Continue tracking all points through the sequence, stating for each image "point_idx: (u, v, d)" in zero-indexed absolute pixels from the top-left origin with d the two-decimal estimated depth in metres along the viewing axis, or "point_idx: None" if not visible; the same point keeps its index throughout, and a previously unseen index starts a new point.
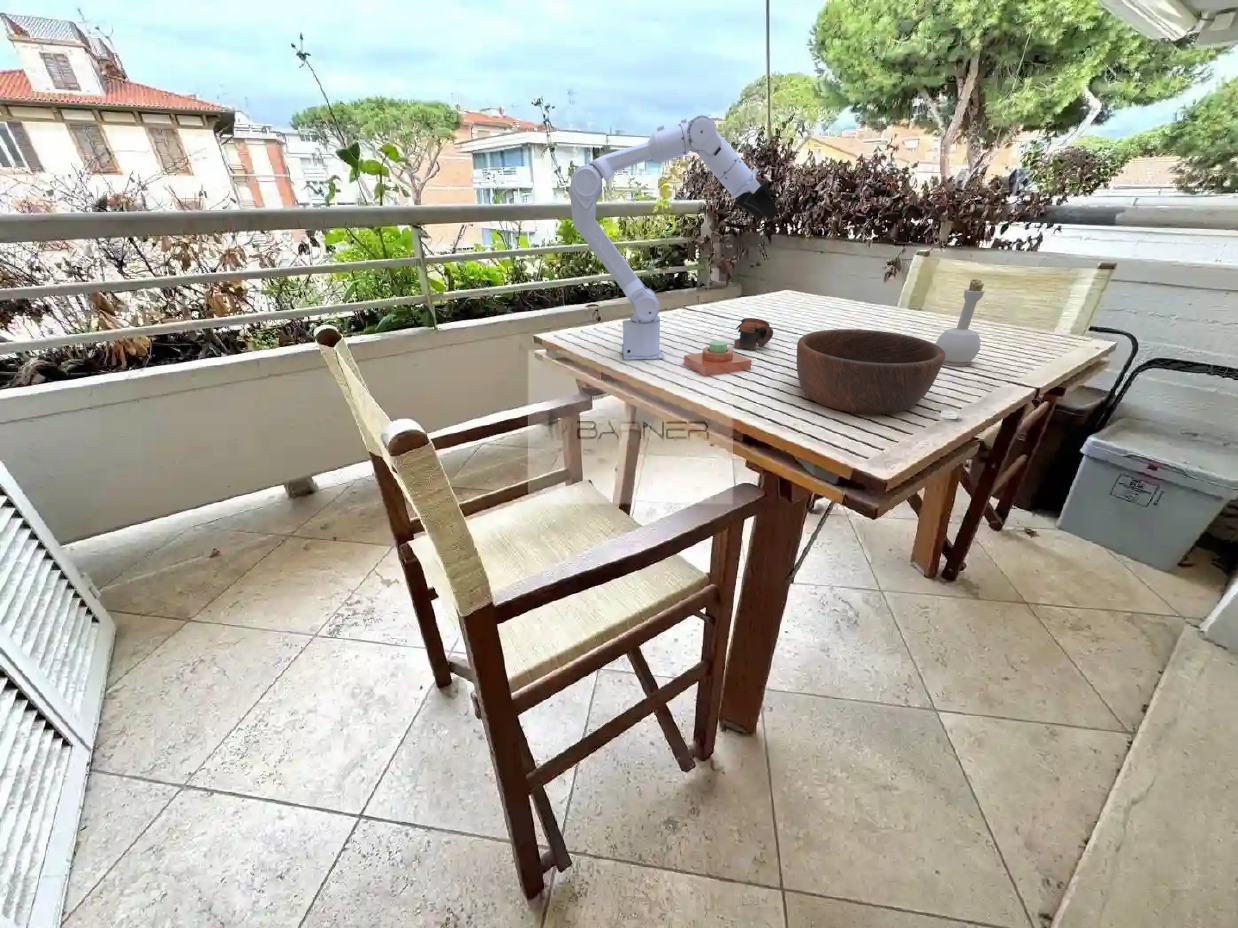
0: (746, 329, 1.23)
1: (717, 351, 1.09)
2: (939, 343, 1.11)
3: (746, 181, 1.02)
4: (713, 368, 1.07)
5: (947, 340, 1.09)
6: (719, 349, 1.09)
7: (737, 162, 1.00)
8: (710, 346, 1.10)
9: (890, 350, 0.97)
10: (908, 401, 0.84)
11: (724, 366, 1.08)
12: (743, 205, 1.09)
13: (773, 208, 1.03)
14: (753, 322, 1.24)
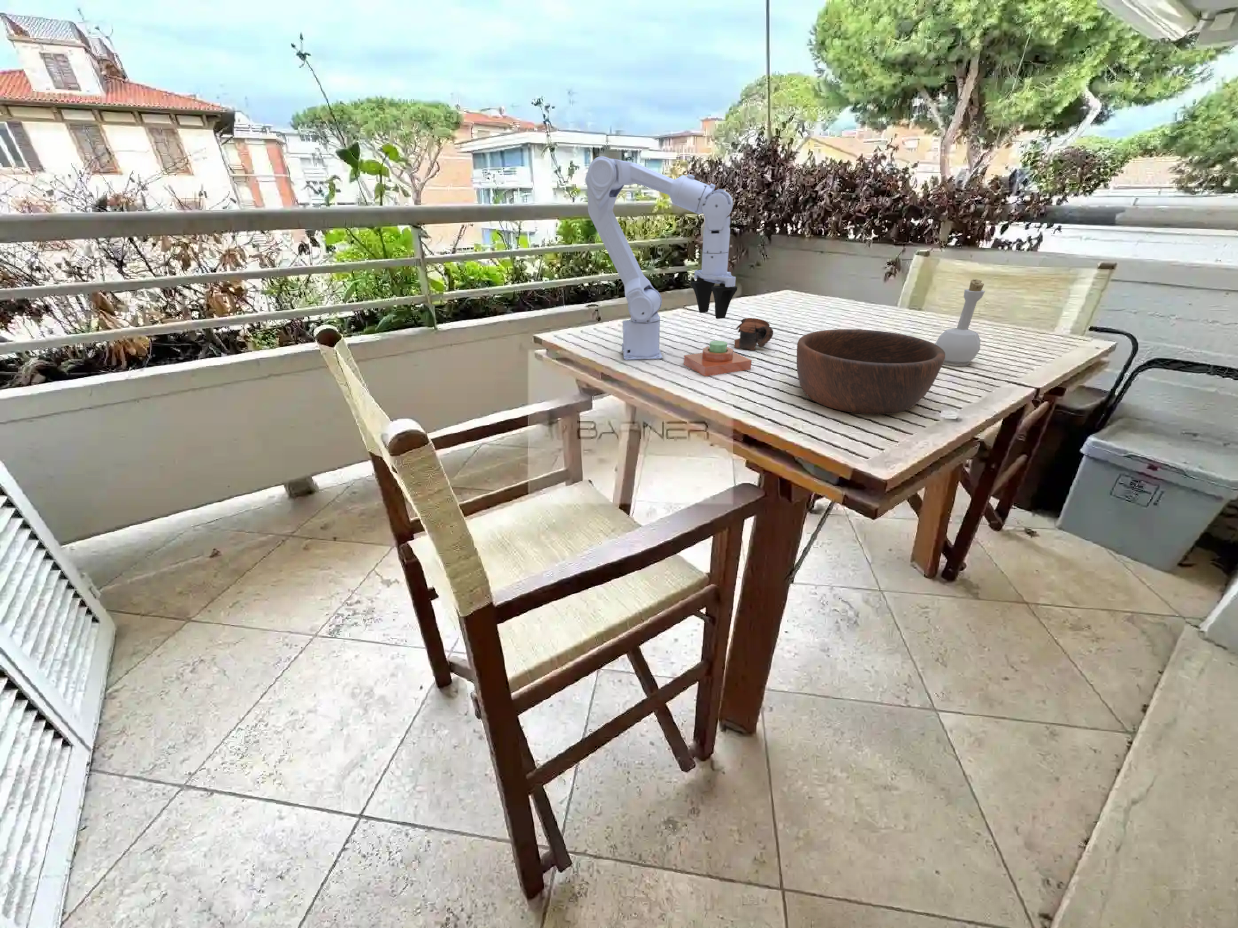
0: (746, 329, 1.23)
1: (717, 351, 1.09)
2: (939, 343, 1.11)
3: (722, 274, 1.06)
4: (713, 368, 1.07)
5: (947, 340, 1.09)
6: (719, 349, 1.09)
7: (727, 254, 1.05)
8: (710, 346, 1.10)
9: (890, 350, 0.97)
10: (908, 401, 0.84)
11: (724, 366, 1.08)
12: (698, 290, 1.13)
13: (724, 311, 1.09)
14: (753, 322, 1.24)
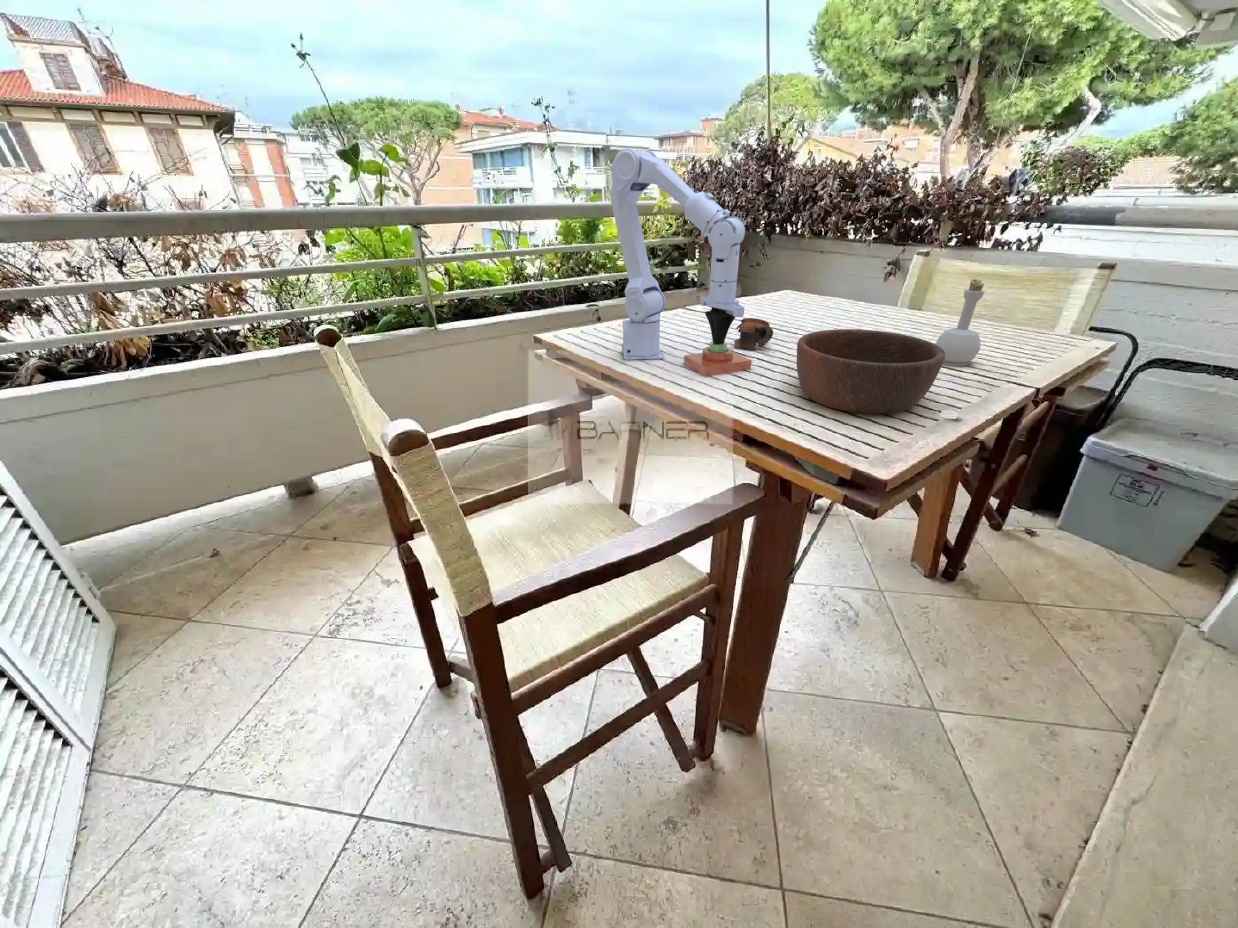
0: (746, 329, 1.23)
1: (717, 351, 1.09)
2: (939, 343, 1.11)
3: (730, 303, 1.04)
4: (713, 368, 1.07)
5: (947, 340, 1.09)
6: (719, 349, 1.09)
7: (735, 283, 1.02)
8: (710, 346, 1.10)
9: (890, 350, 0.97)
10: (908, 401, 0.84)
11: (724, 366, 1.08)
12: None
13: (723, 337, 1.09)
14: (753, 322, 1.24)
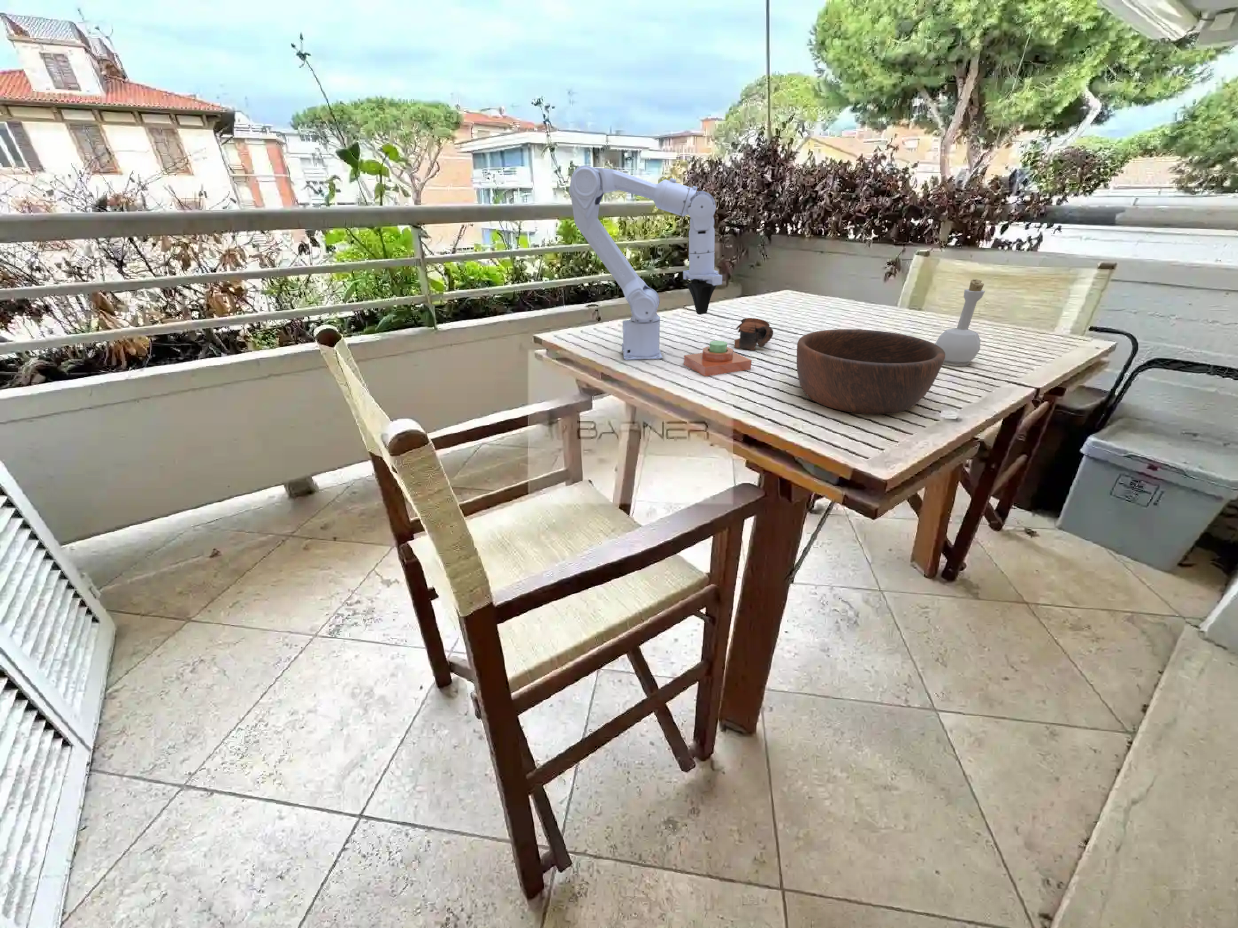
0: (746, 329, 1.23)
1: (717, 351, 1.09)
2: (939, 343, 1.11)
3: (709, 273, 1.09)
4: (713, 368, 1.07)
5: (947, 340, 1.09)
6: (719, 349, 1.09)
7: (712, 253, 1.08)
8: (710, 346, 1.10)
9: (890, 350, 0.97)
10: (908, 401, 0.84)
11: (724, 366, 1.08)
12: None
13: (706, 307, 1.14)
14: (753, 322, 1.24)
